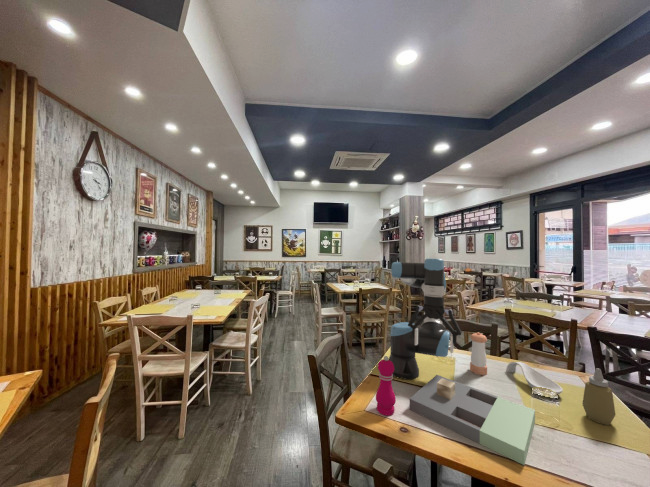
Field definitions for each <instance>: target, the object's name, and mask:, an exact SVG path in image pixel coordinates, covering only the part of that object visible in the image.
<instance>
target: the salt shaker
mask: <svg viewBox="0 0 650 487" xmlns="http://www.w3.org/2000/svg"><path fill="white" fill-rule="evenodd" d="M470 339H471V342H472V343H471V346H472V347H471V348H472V349H471V354H470V362H469V369H470V370H469V371H471V373H473V374H476V375H479V376H486V375H488V365H487V354H486V343H487V342H488V338H487V336H486V335H484V334H482V333H480V332H479V331H478V332H477V333H476V332H475V333H472V334H470Z"/></svg>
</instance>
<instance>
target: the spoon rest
mask: <svg viewBox="0 0 650 487" xmlns="http://www.w3.org/2000/svg"><path fill="white" fill-rule="evenodd" d="M517 366H519V367H520V368H521V370H522V374H523V376H524V378H525V381H526V382H527V384H528V386H529V387H530V388H531V389H532V388H533V387H542V388H547V389H551V390H552V391H555V392H556V393H557V394H558V395H560V394H561V393H563V392H564V389H563V387H561V385H559V384H558V383H557V382H556V381H554V380H552V379H551V378H549V377H547V376H546V375H544V374H542V372H539V371H538V370H536V369H535V368H533V367H532V366H530V365H529V364H527V363H524V362H522V361H511V362H509V363H508V364H507V366H506V368H505V371H506V372H507V373H516V371H517Z"/></svg>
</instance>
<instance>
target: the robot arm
mask: <svg viewBox="0 0 650 487" xmlns="http://www.w3.org/2000/svg"><path fill="white" fill-rule="evenodd" d="M390 268H391V269H390V270H391V277H392V278H394V279H395V278H397V279H400V281H401V283H402V284H404V285H407V286H409V287H413V288H419V289H421V290H422V292H423V306H421V305H419V304H417V305H416V306H415V310H414V313H413V315H412V316H411V318H410V319H409V321H408V322H407V321H406V322H403V321H402V322H401V321H400V322H397V323H394V324H392V325H391V328H390V334H389V335H390V350H389V351H390V354H389V356H388V358H389V359H388V360H390V361H391V362H392V363H393V365H394V372H393V373H392V374H393V377H394V376H395V377H394V378H397V377H398V378H397V379H400V378H402V379H401V380H415V379H417V378H419V375H420V368H419V365H418V362H417V358H416V354H421V355H427V356H433V357H436V358H437V357H439V358H440V357H442V358H446V357H447V356H448V355H449V352H450V353H451V354H453V353H454V345H456V344H457V339H458V338H457V336H461V335H462V334H463V331H462V330H461V328H460V325H459V324H458V322H457V320H456V318H455V316H454V312H453V309H452V308H450V309H445V307H444V306H445V298H444V297H443V296H444V295H445V289H446V288H447V280H446V275H445V263H444V259H443V258H425V259H424V262H406V261H404V262H403V261H402V262H401V261H394V262H392V263H391V267H390ZM421 311H423V315H422V316H421V318H419V319H418V320H417V321H416V322H415V320H416V319H417V318H418V315H419V313H420V312H421ZM445 313H446V316H448V317H449V319H450V321H451V323H452V325H451V324H450V322H449V321H448V320H447V319H446V317H445V316H444V314H445ZM420 324H421V325H420ZM419 325H420V327H418V326H419ZM453 327H454V328H453ZM449 344H450V349H449ZM416 377H417V378H416ZM414 378H415V379H414Z"/></svg>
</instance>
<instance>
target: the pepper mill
mask: <svg viewBox="0 0 650 487" xmlns="http://www.w3.org/2000/svg"><path fill="white" fill-rule="evenodd" d="M377 370H378V372H379V373H378V374H379V375H378V377H379V380H380V381H379V386H378V388H377V391H376V394H375V400H376V410H377V412H378V413H379V414H381V415H383V416H393V415H394V413H395V404H396V400H397V399H396V394H395V392H394V389H393V385H392V381H393V379H394V376H393V374H392V373H393V372H394V365H393V363H392V362H391V361H390V360H389V356H387V355H384V356H383V359H381V360H379V362H377Z"/></svg>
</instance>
